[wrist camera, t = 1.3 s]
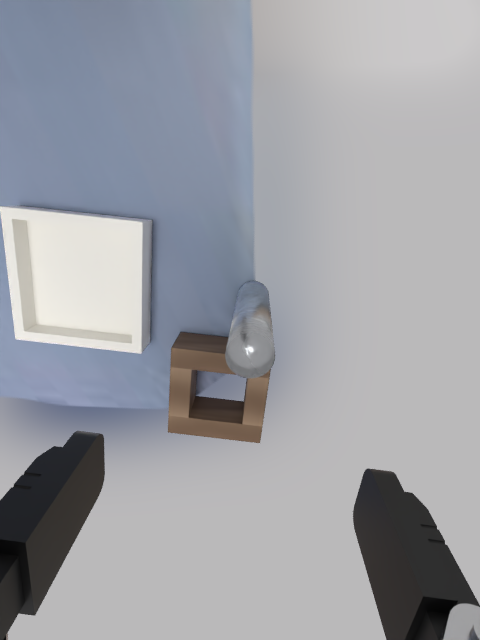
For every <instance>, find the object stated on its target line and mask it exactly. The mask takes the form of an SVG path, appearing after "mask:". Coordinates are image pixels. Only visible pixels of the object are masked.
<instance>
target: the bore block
mask: <svg viewBox="0 0 480 640" xmlns="http://www.w3.org/2000/svg"><path fill="white" fill-rule="evenodd" d="M228 338H229V337H220V336H211V335H203V334H194V333H185V332H180V334H179V336H178V337H177V339H176V341H175V342H174V344H173V346H172V348H171V369H170V394H169V420H168V432H170V433H178V434H187V435H196V436H204V437H212V438H221V439H229V440H238V441H246V442H256V443H260V438H261V432H262V425H263V418H264V411H265V405H266V398H267V391H268V384H269V377H270V370H271V369H270V370H269V371H268V372H267V373H266V374H264V375H263V376H260V377H257V378H247V382H246V390H245V398H244V402H242V401H234V400H225V399H217V398H208V397H199V396H196V381H197V370H200V371H209V372H217V373H226V374H235V373H234V372H232V371H231V369H230V368H229V367H228V365H227V363H226V359H225V352H226V347H227V342H228ZM235 375H236V374H235Z"/></svg>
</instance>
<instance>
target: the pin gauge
mask: <svg viewBox="0 0 480 640" xmlns="http://www.w3.org/2000/svg"><path fill="white" fill-rule="evenodd" d="M225 359H226V363H227V365H228V367H229V368H230V369H231V371H232V372H234V373H235V374H236V375H238V376H241V377H244V378H257V377H260V376H263V375H264V374H266V373H267V372H268V371H269V370H270V369H271V367H272V366H273V364H274V360H275V350H274V341H273V331H272V321H271V312H270V303H269V294H268V290H267V288H266V287H265V286H264V285H263V284H262V283H260V282H257V281H249V282H246V283H245V284H243V285H242V286H241V288H240V289H239V292H238V296H237V301H236V305H235V310H234V315H233V319H232V324H231V328H230V333H229V338H228V342H227V347H226V352H225Z"/></svg>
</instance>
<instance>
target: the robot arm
mask: <svg viewBox="0 0 480 640" xmlns="http://www.w3.org/2000/svg"><path fill="white" fill-rule="evenodd" d="M104 470H105V469H104V437H103V435H102V434H99V433H90V432H83V431H76V432H75V433H74V434H73V435H72V436H71V437H70V439H69V440H68V441H67V443H66V444H65V445H64V446H63V447H56V446H54V447H52V448H51V449H49V450H48V451H46V452H45V453H43V454H42V455H40V456H39V457H37V458H36V459H35V460H34V462H33V463H32V464H31V465H30V466H29V468H28V469H27V470H26V471H25V473H24V475H22V476H21V477H20V478H19V479H18V480H17V482H16V483H15V484H14V487H13V488H11V489H10V490H9V491H8V492H7V493H6V494H5V496H4V497H3V498H2V499H1V500H0V640H8V634H7V633H8V631H9V629H10V627H11V626H12V624H13V622H14V620H15V618H16V617H17V615H18V613H20V614H28V615H35V614H36V612H37V611H38V608H39V607H40V605H41V603H42V601H43V599H44V597H45V596H46V594H47V592H48V590H49V587H50V586H51V584H52V582H53V580H54V579H55V577H56V575H57V573H58V571H59V569H60V567H61V566H62V564H63V562H64V560H65V558H66V556H67V554H68V553H69V550H70V549H71V547H72V545H73V543H74V541H75V539H76V538H77V536H78V534H79V532H80V530H81V528H82V526H83V524H84V523H85V521H86V519H87V517H88V515H89V513H90V511H91V509H92V508H93V506H94V504H95V502H96V500H97V498H98V496H99V494H100V492H101V489H102V486H103V482H104V475H105V471H104ZM353 521H354V529H355V532H356V536H357V539H358V543H359V546H360V549H361V553H362V556H363V560H364V564H365V567H366V570H367V574H368V577H369V581H370V584H371V588H372V591H373V594H374V598H375V601H376V605H377V608H378V612H379V615H380V619H381V622H382V625H383V629H384V632H385V636H386V639H387V640H480V605H479V603H478V601H477V599H476V598H475V596H474V594H473V592H472V590H471V588H470V587H469V585H468V583H467V581H466V579H465V577H464V575H463V574H462V572H461V570H460V568H459V566H458V564H457V563H456V561H455V559H454V557H453V555H452V553H451V551H450V550H449V548H448V546H447V545H445V540H444V539H443V537H442V535H441V533H440V531H439V530H437V526H436V524H435V522H434V520H433V518H432V517H431V515H430V513H429V511H428V509H427V508H426V507H425V506H424V505H423V504H422V503H421V502H420V501H419V500H418V499H417V497H416V496H415V495H414V494H413V493H409V492H404V490H403V488H402V486H401V484H400V482H399V480H398V478H397V476H396V475H395V473H394V472H391V471H383V470H375V469H366V470H365V472H364V474H363V478H362V481H361V485H360V488H359V492H358V495H357V498H356V502H355V505H354V511H353Z"/></svg>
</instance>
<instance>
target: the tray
mask: <svg viewBox="0 0 480 640" xmlns="http://www.w3.org/2000/svg"><path fill="white" fill-rule="evenodd" d="M0 212H1V220H2V229H3V237H4V246H5V254H6V263H7V271H8V279H9V288H10V296H11V305H12V313H13V321H14V330H15V338H16V339H18V340H26V341H35V342H44V343H53V344H61V345H70V346H79V347H87V348H96V349H105V350H114V351H122V352H131V353H140V354H141V353H142V352H143V351H144V350H145V348H146V347H147V346H148V344H149V343H150V324H151V269H152V220H147V219H138V218H129V217H119V216H110V215H101V214H92V213H83V212H74V211H65V210H55V209H46V208H37V207H28V206H0Z"/></svg>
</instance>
